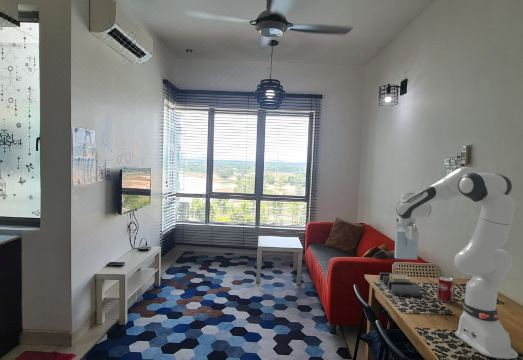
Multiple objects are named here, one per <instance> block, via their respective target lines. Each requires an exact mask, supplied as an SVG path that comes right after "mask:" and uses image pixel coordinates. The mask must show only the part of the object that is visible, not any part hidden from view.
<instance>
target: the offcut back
mask: <svg viewBox="0 0 523 360" xmlns="http://www.w3.org/2000/svg"><path fill="white" fill-rule="evenodd" d="M392 276H395V277H409V276H408V275H407V274H406V275H399V274H389V281H392Z"/></svg>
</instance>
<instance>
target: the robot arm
mask: <svg viewBox="0 0 523 360" xmlns="http://www.w3.org/2000/svg"><path fill="white" fill-rule="evenodd" d="M512 189H513V184H512V181H511V180H510V178H508V177H507V176H505V175H502V174H499V173H488V172H477V171H476V170H475V169H474V168H473V167H470V166H461V167H459V168H457V169H454V170H453V171H451V172H449V173H448V174H447V175H445V176H444V177H442V178H441V179H440V180H438V181H436V182H435V183H433V184H432V185H430V186H428V187H426V188H423V189H422V190H421V191H418V192H417V193H414V192H410V193H402V194H401V195H400V200H399V202H398V203H397V205H396V208H395V210H396V213H397V215H398V217H396V218H395V221H396V227H395V228H396V230H398V231H405V237H406V238H407V242H406V245H407V246H410V242H411V240H414V241H417V240H418V241H419V230H418V227H417V226H416V224H417V219H425V218H428V217H429V216H430V215H431V213H432V206H431V204H430V203H431V202H439V201H440V202H441V201H451V200H455V199H456V198H459V197H461V196H465V197H466V198H468V199H470V200H471V201H473V202H475V203H478V202H480V204H481V209H480V213H479V216H478V221H477V222H476V223H477V224H476V226H475V230H474V233H472V234H473V235H472V236H471V237H470V239H469V241H468V242H467V244H465V246H463V247H464V248H462V249H461V250H460V251H458V252H457V253H456V254H455V256H454V259H453V261H454V262H453V263H454V265H455V266H454V267H456V269H457V271H458V272H460V273H461V274H464V275H468V276H472V277H471V278H470V279H469V280H468V281H467V283H466V285H465V294H464V300H463V303H462V310H463V311H462V314H461V315H460V317H459V321H458V322H459V323H458V329H457V330H456V331H455V333H454V335H455V336H456V337H457V338H459V339H460V340H462V341H463V342H465V343H466V344H467V345H469V346H470V347H472V348H473V349H474V350H476V351H477V352H479V353H480V354H481V355H482V356H487V357H489V358H496V359H506V360H509V359H517V358H518V357H519V354H518V352H517V351H516V350H515V349H514V348H513V347H512V346H511V338H510V332H508V331H506V330H505V328H504V326H503V325H502V323H501V322H500V318H501V315H500V314H499V312H498V309H497V300H498V293H499V290H500V289H499V288H500V286H501V284H502V281H503V279H504V278H505V275H506V274H508V272H509V270H511V269H512V268H513V265H514V260H513V257H512V255H511V254H510V253H509V252H508V251H506V250H505V249H501V248H500V247H502V246H503V245H504V244H505V243H506V242H507V241H508V238H509V234H510V231H511V227H512V225H513V221H514V215H515V208H516V207H515V206H516V205H515V204H516V203H515V200H514V199H513V198H512V197H511V196H509V194H511V192H512Z"/></svg>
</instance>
